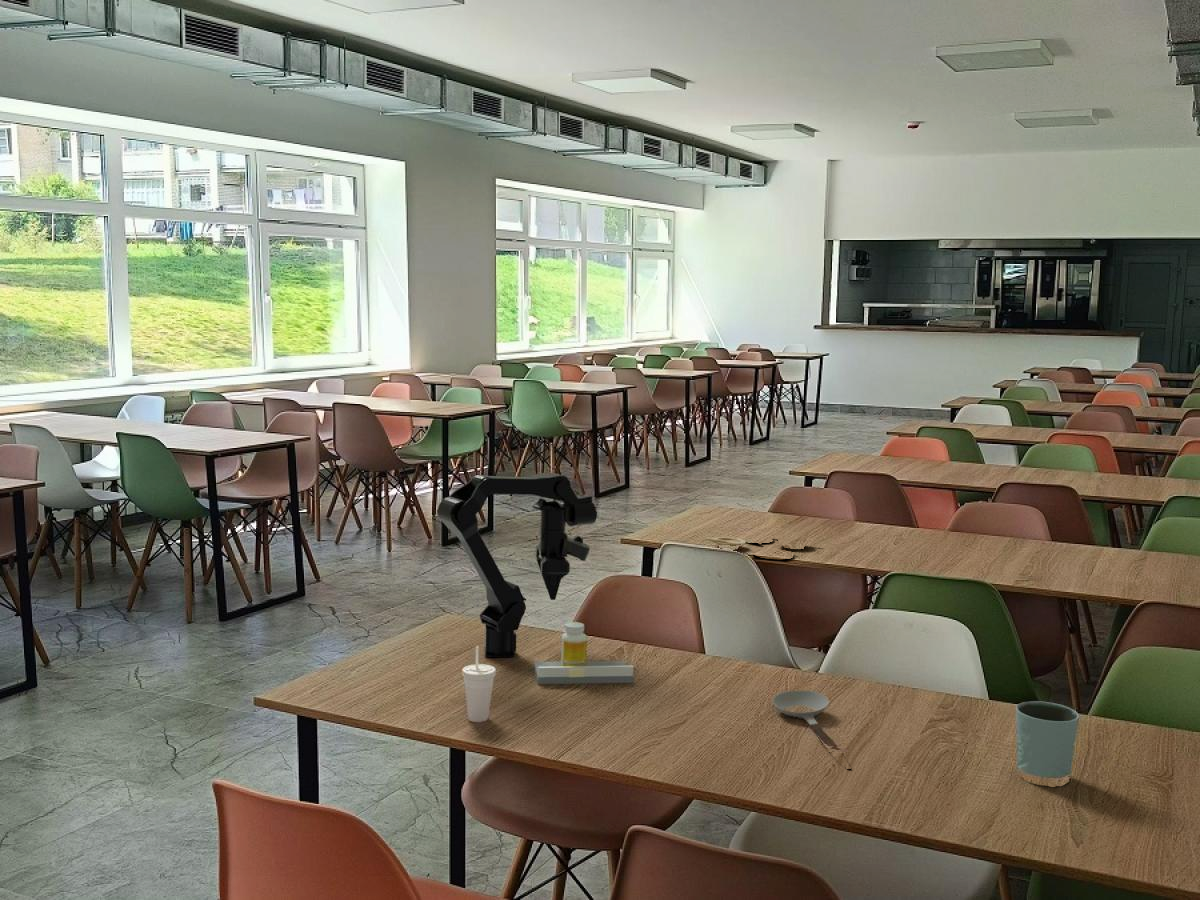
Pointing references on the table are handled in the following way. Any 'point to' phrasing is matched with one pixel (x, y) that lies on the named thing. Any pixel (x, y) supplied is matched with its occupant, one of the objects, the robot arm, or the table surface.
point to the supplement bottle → (573, 645)
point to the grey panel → (584, 672)
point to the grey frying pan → (807, 700)
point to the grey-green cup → (1045, 738)
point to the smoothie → (478, 689)
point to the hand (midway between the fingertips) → (551, 594)
